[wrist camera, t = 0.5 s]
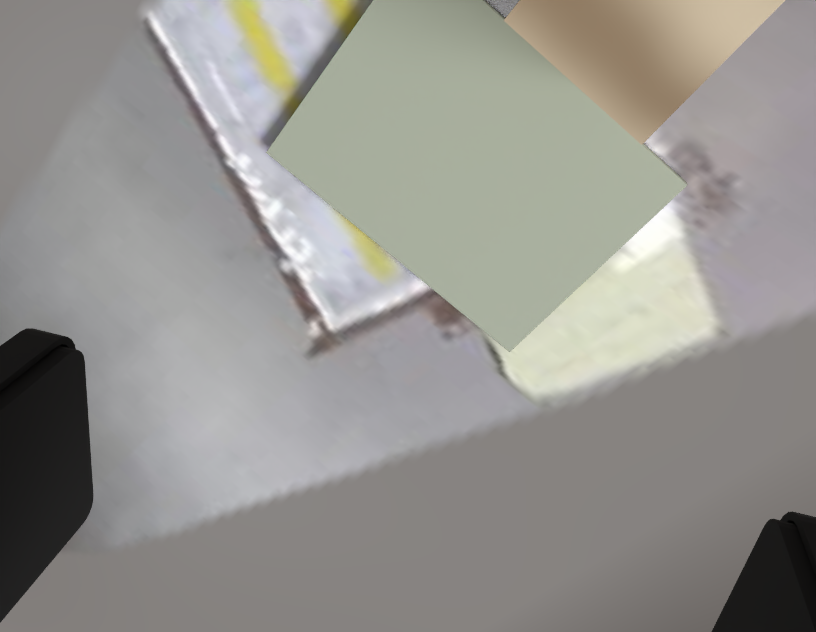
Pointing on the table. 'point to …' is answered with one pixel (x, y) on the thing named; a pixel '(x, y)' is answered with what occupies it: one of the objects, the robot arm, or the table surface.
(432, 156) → the rubber mat
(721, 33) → the maple block
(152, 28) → the table surface
